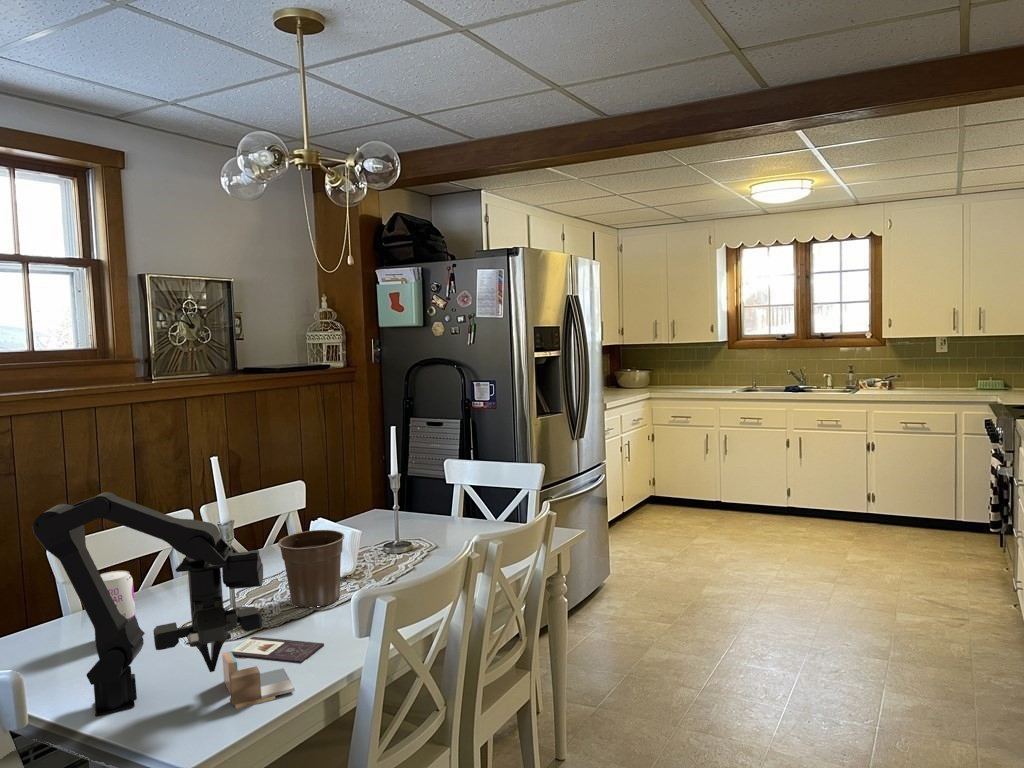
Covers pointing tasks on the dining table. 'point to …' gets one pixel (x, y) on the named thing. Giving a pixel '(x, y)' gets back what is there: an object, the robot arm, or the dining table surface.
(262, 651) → the chocolate bar
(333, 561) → the plant pot
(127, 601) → the supplement can
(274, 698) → the rest
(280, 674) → the plate
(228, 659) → the tile
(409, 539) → the dining table surface
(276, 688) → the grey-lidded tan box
